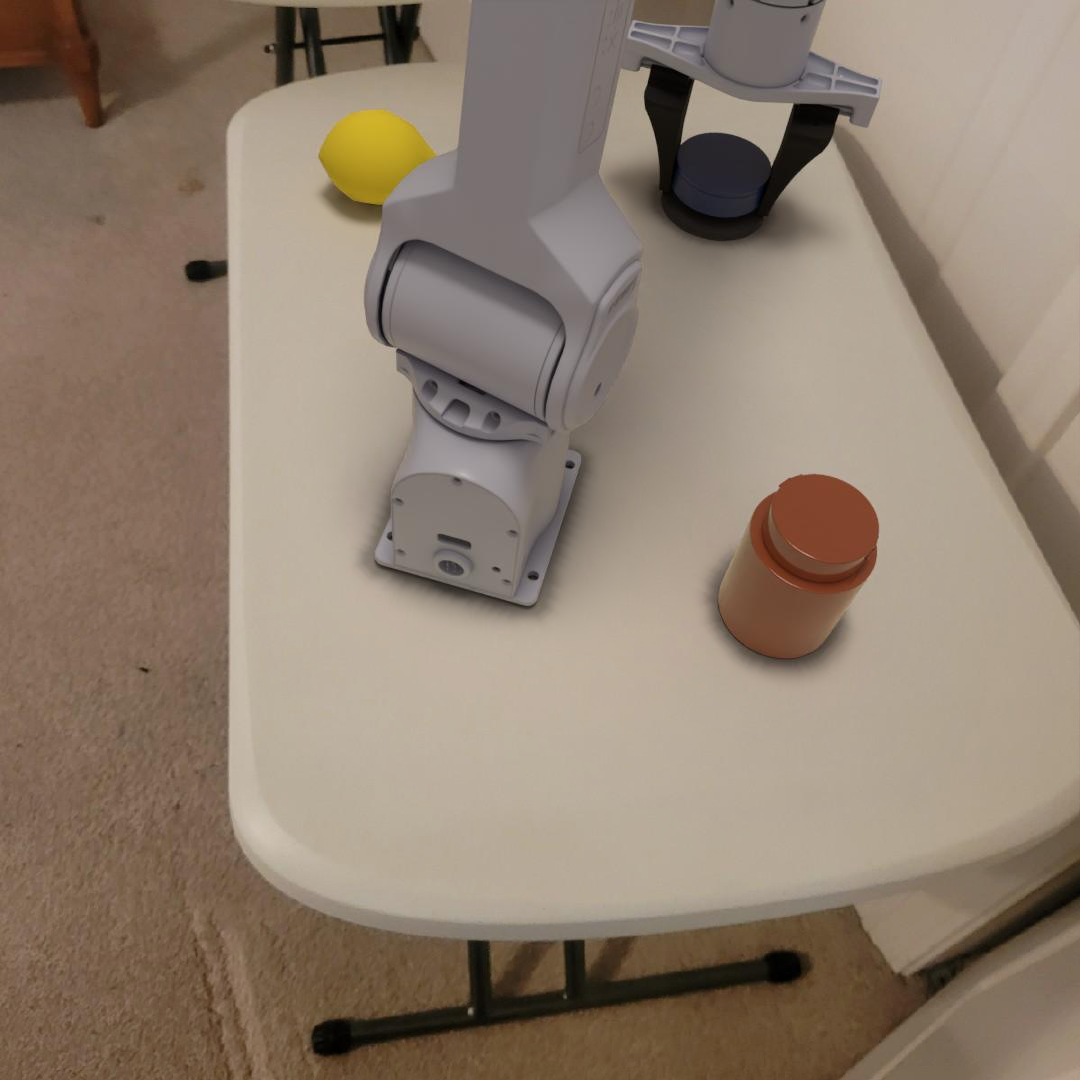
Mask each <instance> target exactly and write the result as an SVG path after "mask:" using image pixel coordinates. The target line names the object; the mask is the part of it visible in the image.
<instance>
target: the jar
mask: <svg viewBox="0 0 1080 1080" xmlns="http://www.w3.org/2000/svg"><path fill="white" fill-rule="evenodd" d="M879 535H880V523H879V517H878V515H877V512H876V510H875V508H874V506H873V504H872V503H871V502H870V500H869V499H868V498H867V497H866V496H865V494H863V493H862V492H861V490H859V489H857V487H855V486H854V485H852V484H850V483H848V482H846V481H845V480H842V479H840V478H837V477H835V476H831V475H827V474H821V473H808V474H802V473H801V474H798V475H795V476H791V477H788V478H787V479H785V480H784V481H782V482H781V483H780V484H778V489H777V490H776V491H773V492H772V493H770V494H769V495H767V496H766V497H765V498H763V499H762V500H761V501H760V502H759V503H758V504H757V506H756V507H755V509H754V510H753V512H752V515H751V517H750V519H749V521H748V524H747V526H746V527H745V529H744V531H743V534H742V537H741V539H740V541H739V543H738V545H737V547H736V550H735V552H734V554H733V556H732V558H731V561H730V563H729V565H728V567H727V569H726V572H725V573H724V576H723V578H722V580H721V583H720V585H719V588H718V592H717V604H718V610H719V614H720V616H721V619H722V621H723V623H724V624H725V625H724V626H726V628H727V629H728V631H729V632H730V633H731V634H732V635H733V637H735V638H736V640H738V641H739V642H740V643H741V644H743V645H744V646H745V647H747V648H748V649H750V650H752V652H753V651H754V652H756V653H757V654H761V655H763V656H766V657H771V658H775V659H794V658H800V657H804V656H807V655H808V654H811V653H813V652H814V651H816V650H817V649H819V648H820V647H821V646H822V645H823V644H824V642H825V641H826V640H827V639H828V637H829V636H830V635H831V633H832V631H834V629H835V627H836V625H837V624H838V623H839V621H840V620H841V618H842V617H843V615H844V614H845V613H846V611H847V610H848V608H849V607H850V605H851V604H852V602H853V601H854V599H855V598H856V596H857V595H858V594H859V592H860V591H861V589H862V588H863V586H864V585H865V583H866V582H867V580H868V579H869V577H870V576H871V575H872V572H873V571H874V569H875V566H876V564H877V558H878V541H879V538H880V536H879Z"/></svg>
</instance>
